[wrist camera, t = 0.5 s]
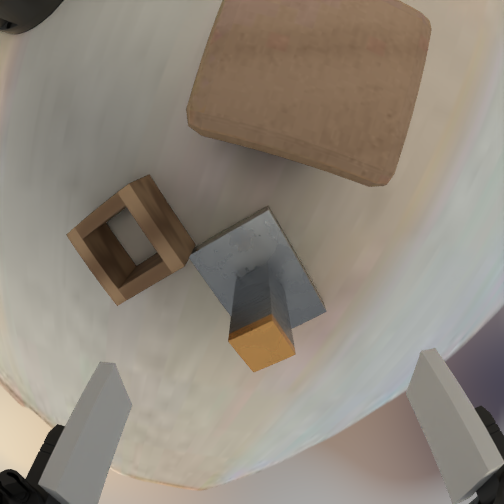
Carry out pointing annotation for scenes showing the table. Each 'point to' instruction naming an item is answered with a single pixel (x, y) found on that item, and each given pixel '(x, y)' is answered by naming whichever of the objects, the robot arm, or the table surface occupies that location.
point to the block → (313, 81)
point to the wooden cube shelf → (113, 254)
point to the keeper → (258, 287)
